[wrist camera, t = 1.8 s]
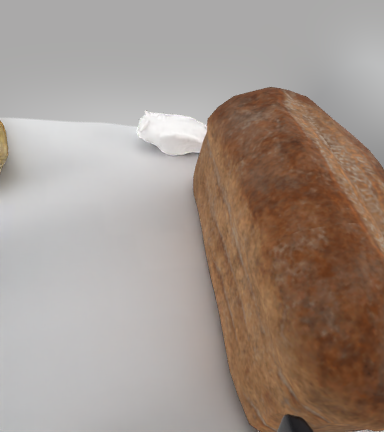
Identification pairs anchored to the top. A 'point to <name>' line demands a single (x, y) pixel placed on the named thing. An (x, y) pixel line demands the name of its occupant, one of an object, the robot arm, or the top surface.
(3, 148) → the mandible
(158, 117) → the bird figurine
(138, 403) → the top surface
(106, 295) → the top surface
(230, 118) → the bread
